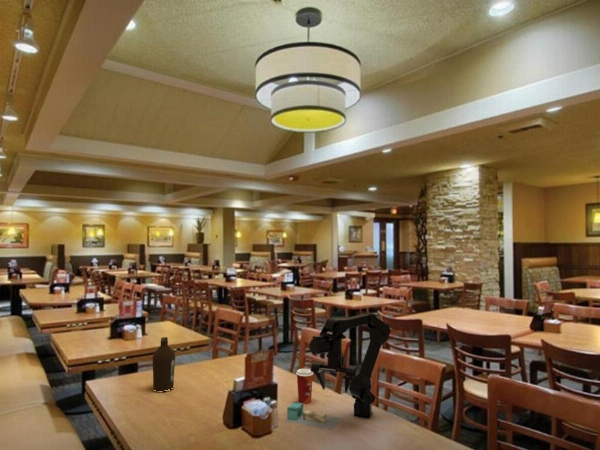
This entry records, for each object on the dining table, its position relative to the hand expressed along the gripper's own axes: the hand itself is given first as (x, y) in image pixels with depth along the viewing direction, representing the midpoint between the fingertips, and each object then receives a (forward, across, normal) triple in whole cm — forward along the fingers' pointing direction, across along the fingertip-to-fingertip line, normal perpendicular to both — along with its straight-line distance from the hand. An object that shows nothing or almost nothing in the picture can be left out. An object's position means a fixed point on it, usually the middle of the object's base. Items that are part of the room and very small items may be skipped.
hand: (334, 391), depth 166 cm
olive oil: (+13, +90, -3) cm, 91 cm away
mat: (+13, +9, +1) cm, 15 cm away
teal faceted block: (+12, +17, +1) cm, 21 cm away
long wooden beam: (+12, +8, +1) cm, 15 cm away
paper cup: (+13, +20, -16) cm, 29 cm away
